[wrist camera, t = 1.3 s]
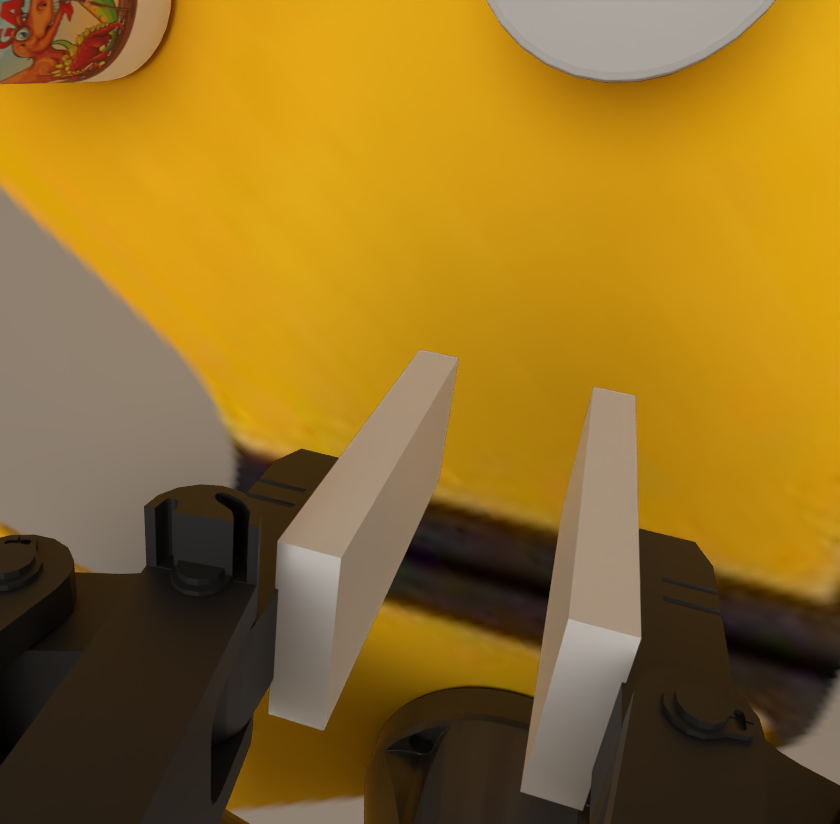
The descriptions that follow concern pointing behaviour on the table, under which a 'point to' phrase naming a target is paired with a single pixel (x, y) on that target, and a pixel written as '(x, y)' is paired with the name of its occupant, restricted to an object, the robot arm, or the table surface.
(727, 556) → the table surface
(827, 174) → the table surface
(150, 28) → the milk bottle
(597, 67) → the canned food
